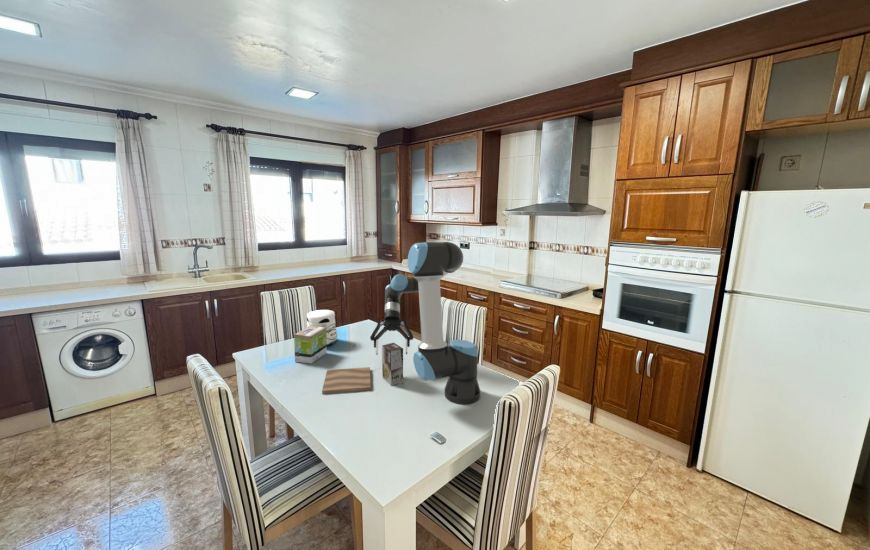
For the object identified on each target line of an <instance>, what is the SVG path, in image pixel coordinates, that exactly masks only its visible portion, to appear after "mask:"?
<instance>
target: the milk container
mask: <svg viewBox="0 0 870 550" xmlns="http://www.w3.org/2000/svg"><path fill="white" fill-rule="evenodd" d="M335 313H336V312H335V311H334V310H330V309H317V310H313V311H310V312H307V314H306V328H307V327H309V326H315V327H325V328H326V347H327V346H330V345H332V344H334V343H336V342H337V340H338V329H337V328H336V314H335Z"/></svg>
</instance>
